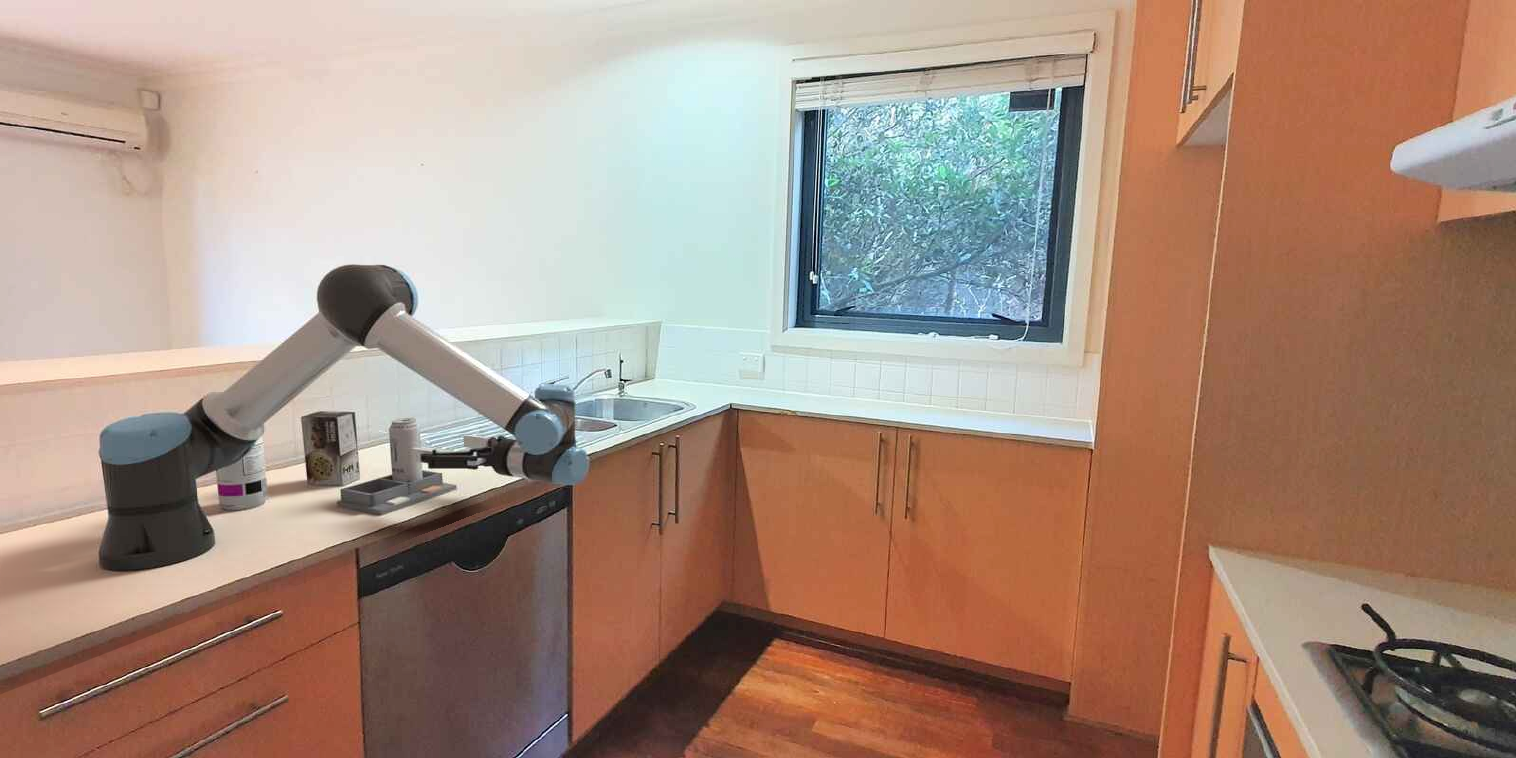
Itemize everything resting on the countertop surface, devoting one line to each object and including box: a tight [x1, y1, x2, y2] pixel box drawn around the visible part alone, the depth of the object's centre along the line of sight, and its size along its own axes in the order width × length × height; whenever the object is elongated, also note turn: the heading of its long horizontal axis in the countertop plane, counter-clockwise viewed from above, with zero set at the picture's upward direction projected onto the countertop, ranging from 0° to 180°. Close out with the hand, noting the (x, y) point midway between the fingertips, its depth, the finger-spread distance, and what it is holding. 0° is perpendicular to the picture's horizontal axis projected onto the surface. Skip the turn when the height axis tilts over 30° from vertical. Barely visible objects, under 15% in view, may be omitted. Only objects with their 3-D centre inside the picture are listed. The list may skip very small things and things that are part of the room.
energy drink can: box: [388, 417, 423, 483], centre depth 155 cm, size 6×6×15 cm
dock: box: [336, 469, 458, 516], centre depth 151 cm, size 19×13×4 cm
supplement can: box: [215, 436, 269, 511], centre depth 144 cm, size 8×8×15 cm
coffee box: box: [300, 410, 361, 487], centre depth 161 cm, size 9×6×16 cm
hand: (440, 447), depth 150 cm, fingers open, 13 cm apart
